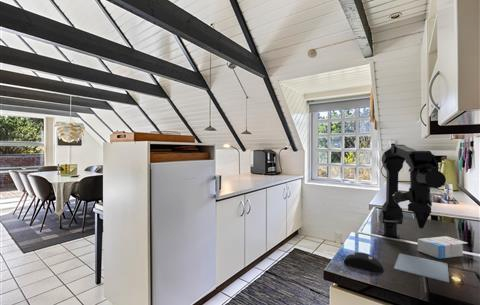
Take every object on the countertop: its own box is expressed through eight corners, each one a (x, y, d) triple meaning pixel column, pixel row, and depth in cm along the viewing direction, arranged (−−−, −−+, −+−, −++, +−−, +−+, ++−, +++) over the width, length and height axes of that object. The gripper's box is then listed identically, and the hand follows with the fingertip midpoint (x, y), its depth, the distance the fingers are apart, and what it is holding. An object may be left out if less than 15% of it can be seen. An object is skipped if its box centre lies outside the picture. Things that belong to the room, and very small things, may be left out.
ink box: (439, 259, 86) (469, 255, 90) (438, 246, 87) (469, 242, 90) (417, 250, 95) (446, 247, 98) (416, 238, 95) (445, 235, 98)
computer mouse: (381, 276, 75) (381, 263, 75) (342, 265, 83) (342, 253, 83) (385, 267, 81) (385, 255, 81) (348, 258, 88) (348, 247, 88)
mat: (399, 254, 91) (399, 253, 91) (447, 264, 83) (447, 263, 83) (393, 268, 79) (393, 268, 79) (449, 282, 70) (449, 281, 70)
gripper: (396, 181, 98) (397, 219, 97) (390, 185, 83) (391, 229, 83) (431, 183, 91) (432, 224, 90) (430, 188, 76) (431, 236, 76)
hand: (421, 228), depth 85 cm, fingers closed
